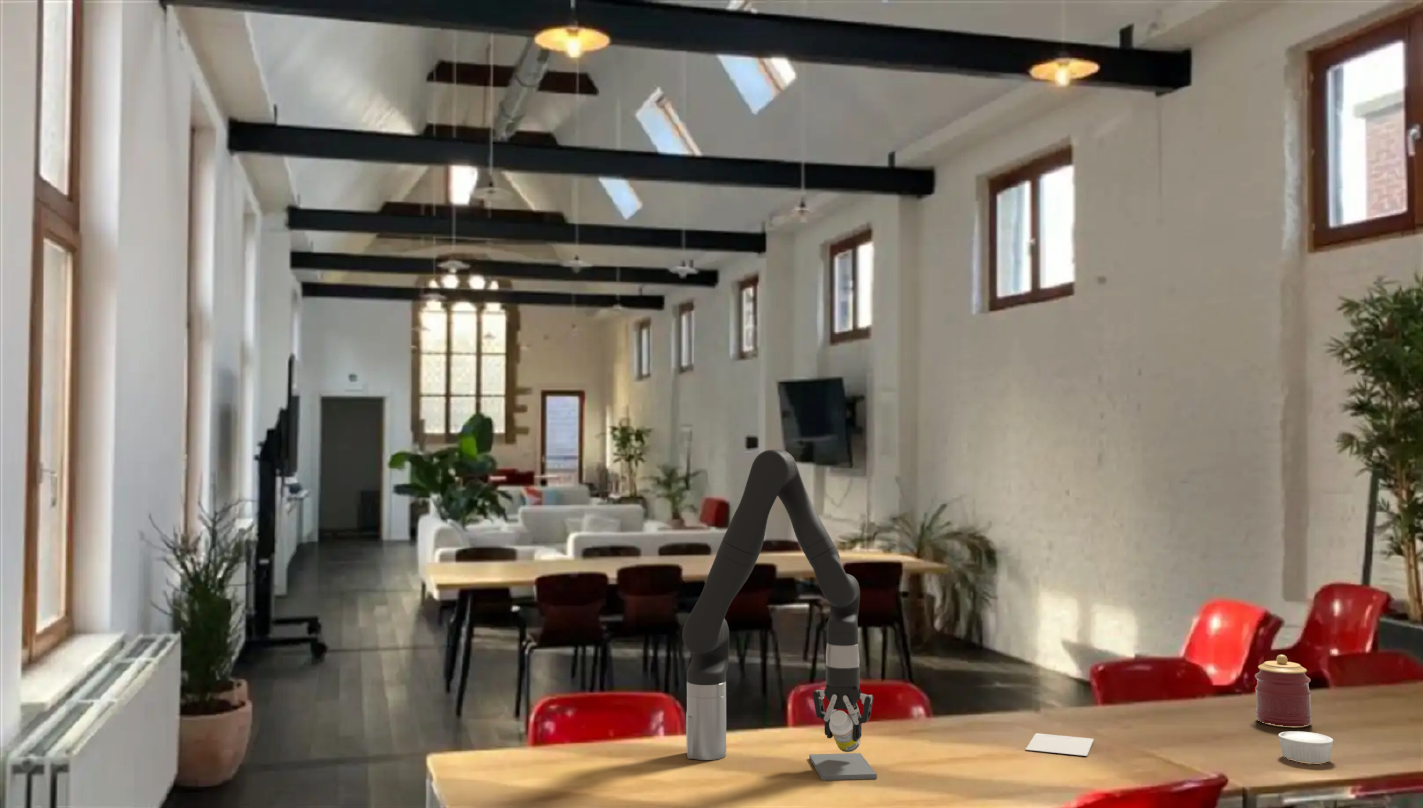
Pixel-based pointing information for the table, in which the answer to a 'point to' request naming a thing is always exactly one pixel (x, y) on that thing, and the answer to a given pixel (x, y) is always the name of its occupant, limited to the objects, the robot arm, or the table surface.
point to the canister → (1283, 693)
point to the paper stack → (1060, 744)
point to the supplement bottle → (843, 731)
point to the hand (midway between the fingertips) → (843, 738)
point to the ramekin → (1306, 746)
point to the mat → (842, 766)
